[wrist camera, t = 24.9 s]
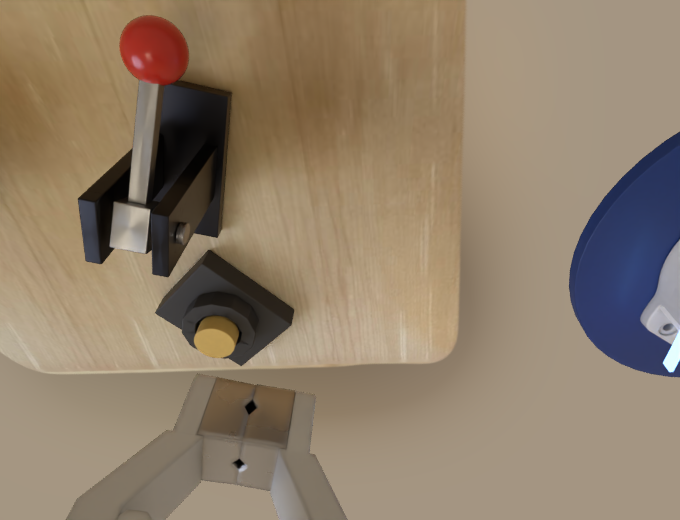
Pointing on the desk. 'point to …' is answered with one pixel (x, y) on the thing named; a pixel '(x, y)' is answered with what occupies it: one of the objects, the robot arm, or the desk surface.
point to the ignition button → (216, 336)
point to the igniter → (226, 306)
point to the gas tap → (170, 178)
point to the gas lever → (146, 121)
